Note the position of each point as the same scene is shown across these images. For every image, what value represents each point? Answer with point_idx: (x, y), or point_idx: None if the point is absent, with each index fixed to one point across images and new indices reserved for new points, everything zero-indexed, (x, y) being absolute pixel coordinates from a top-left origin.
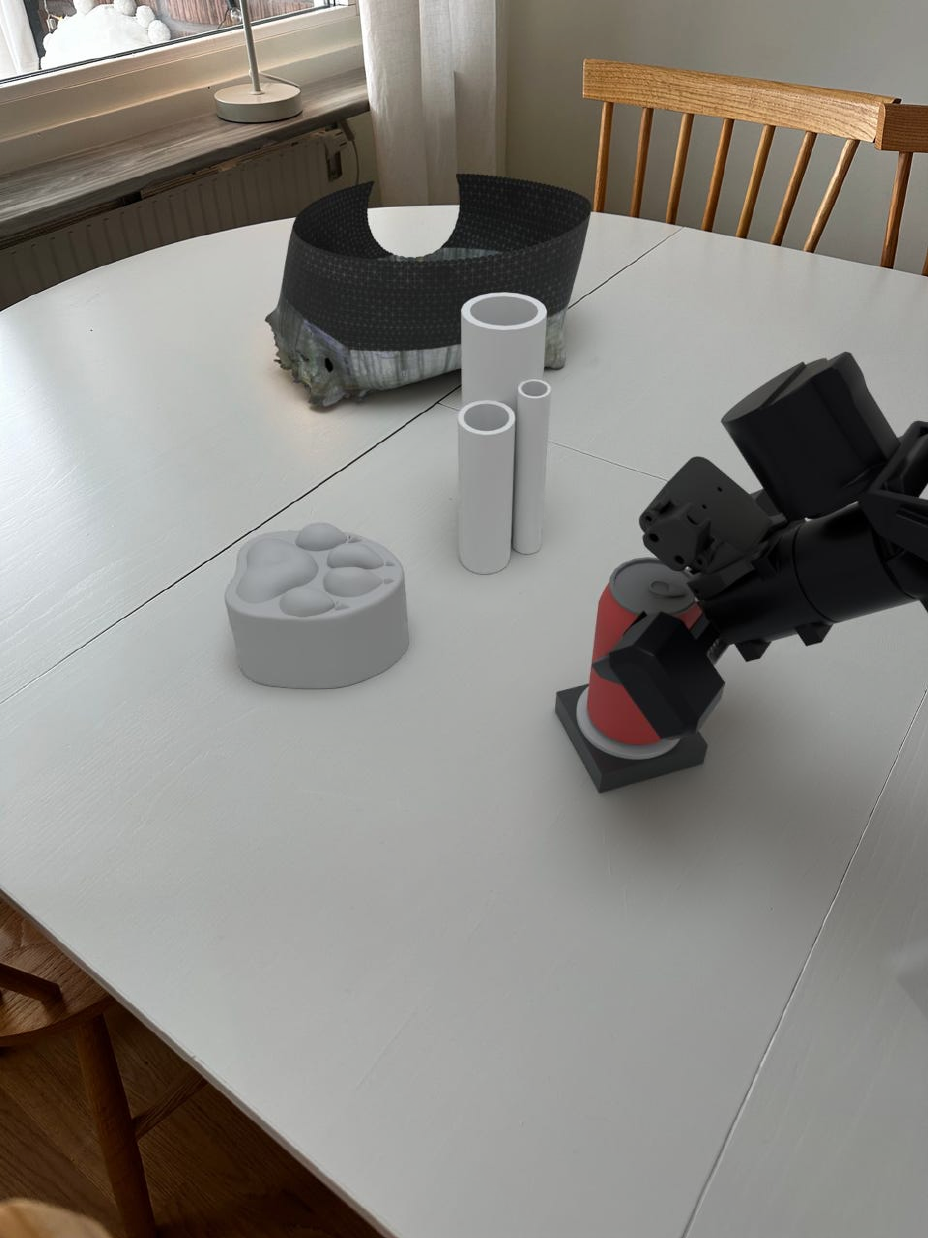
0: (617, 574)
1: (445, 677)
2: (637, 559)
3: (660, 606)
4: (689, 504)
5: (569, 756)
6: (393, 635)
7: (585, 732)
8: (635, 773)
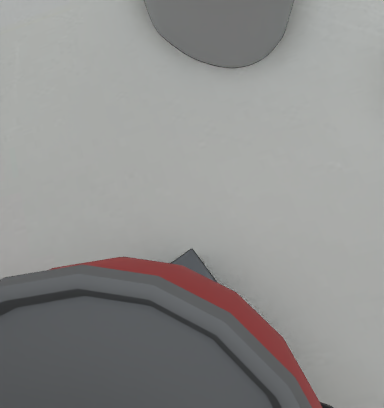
0: (133, 301)
1: (205, 117)
2: (285, 406)
3: None
4: None
5: None
6: (211, 28)
7: None
8: None
